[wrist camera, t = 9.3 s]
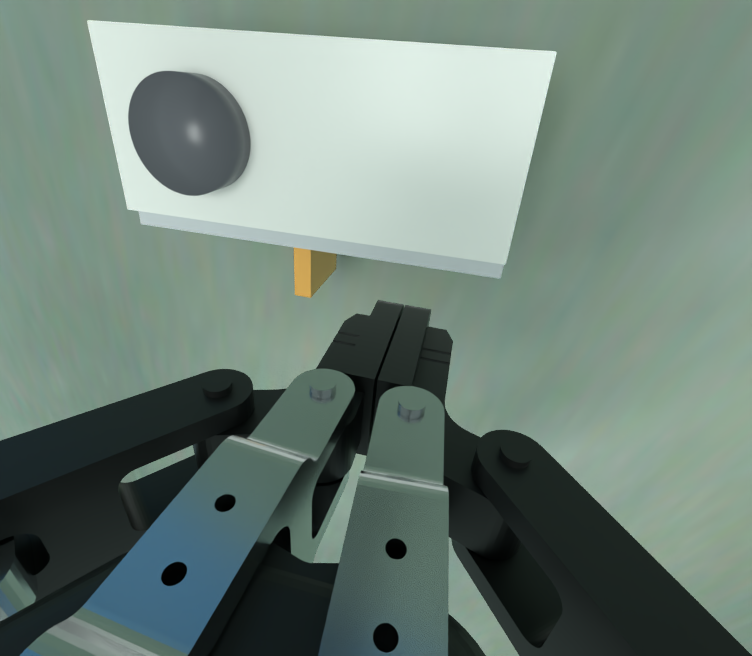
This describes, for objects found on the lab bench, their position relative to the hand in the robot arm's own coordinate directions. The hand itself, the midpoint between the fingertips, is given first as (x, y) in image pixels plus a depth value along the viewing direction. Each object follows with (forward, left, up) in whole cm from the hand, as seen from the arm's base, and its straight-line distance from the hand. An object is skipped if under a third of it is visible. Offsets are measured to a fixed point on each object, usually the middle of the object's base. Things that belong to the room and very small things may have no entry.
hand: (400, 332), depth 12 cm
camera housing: (-3, -8, -25) cm, 26 cm away
